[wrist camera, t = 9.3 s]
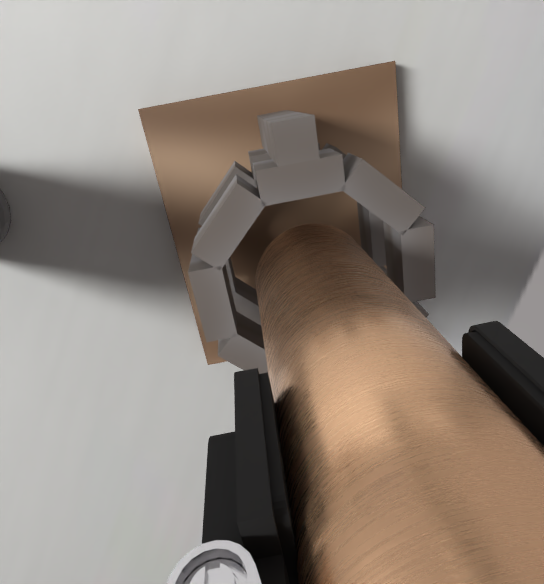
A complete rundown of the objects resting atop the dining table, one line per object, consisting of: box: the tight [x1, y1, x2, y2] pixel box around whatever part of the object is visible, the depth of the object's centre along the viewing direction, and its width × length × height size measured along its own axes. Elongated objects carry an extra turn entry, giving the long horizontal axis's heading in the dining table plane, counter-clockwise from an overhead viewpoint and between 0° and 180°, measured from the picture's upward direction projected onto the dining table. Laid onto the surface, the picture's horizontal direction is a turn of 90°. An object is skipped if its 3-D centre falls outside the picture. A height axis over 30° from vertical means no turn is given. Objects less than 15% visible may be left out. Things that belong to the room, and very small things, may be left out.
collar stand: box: [138, 61, 435, 374], centre depth 20 cm, size 14×12×8 cm
